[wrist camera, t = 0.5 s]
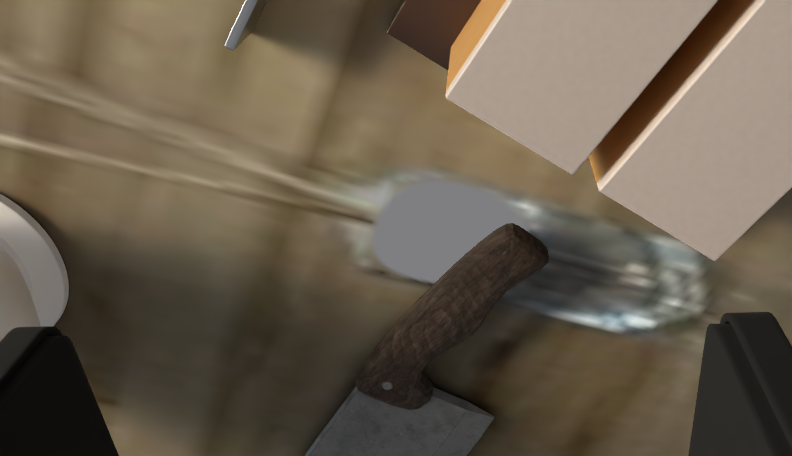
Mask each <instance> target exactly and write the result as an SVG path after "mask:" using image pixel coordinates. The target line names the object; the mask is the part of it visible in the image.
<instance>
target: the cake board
mask: <svg viewBox="0 0 792 456" xmlns="http://www.w3.org/2000/svg"><path fill="white" fill-rule="evenodd" d="M480 2H481V0H404V1H403V3H402V5H401V6H400V8H399V10H398V12H397V13H396V15H395V17H394V18H393V20H392V22H391V23H390V25H389V27H388V30H387V33H388V34H390V35H392V36H393V37H395V38H396V39H398V40H400V41H401V42H403V43H405V44H406V45H408V46H409V47H411V48H413V49H414V50H416V51H418V52H419V53H421V54H422V55H424V56H426V57H427V58H429V59H431V60H432V61H434V62H435V63H437V64H439V65H440V66H442V67H444V68H445V69H447V70H448V69H449V60H450V51H451V46H452V45H453V43H454V42H455V40H456V39H457V37H458V36H459V34H460V32H461V31H462V29H463V28H464V26H465V25H466V23H467V22H468V20H469V19H470V17H471V16H472V14H473V12H474V11H475V9H476V8H477V6H478V5H479V3H480Z"/></svg>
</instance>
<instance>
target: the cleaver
mask: <svg viewBox="0 0 792 456" xmlns="http://www.w3.org/2000/svg"><path fill="white" fill-rule="evenodd" d="M548 262H549V254H548V249H547V247H546V246H545V245H544V244H543V243H542V242H541V241H540V240H538V239H537V238H536V237H534V236H533V235H532V234H530V233H529V232H527V231H526V230H524V229H523V228H521V227H520V226H518V225H515V224H513V223H511V224H506V225H504V226H502V227H500V228H498V229H497V230H495V231H494V232H493V233H491V234H490V235H488V236H487V237H486V238H484V239H483V240H482V241H481V242H479V243H478V244H477V245H476V246H475V247H473V248H472V249H471V250H470V251H469V252H468V253H466V254H465V255H464V256H463V257H462V258H461V259H460V260H459V261H458V262H456V263H455V264H454V265H453V266H452V267H451V268H450V269H449V270H448V271H447V272H446V273H445V274H444V275H443V276H442V277H441V278H440V279H439V280H438V281H437V282H436V283H435V284H434V285H433V286H432V287H431V288H430V289H429V290H428V291H427V292H426V293H425V294H424V295H423V296H422V297H421V298H420V299H419V300H418V301H417V302H416V303H415V304H414V305H413V306H412V307H411V308H410V309H409V310H408V311H407V312H406V313H405V314H404V315H403V316H402V318H401V319H400V320H399V321H398V322H397V323H396V324H395V325H394V326H393V327H392V329H391V330H390V331H389V332H388V333H387V334H386V336H385V337H384V338H383V339H382V340H381V342H380V343H379V344H378V345H377V347H376V348H375V349H374V350H373V352H372V353H371V354H370V356H369V357H368V358H367V360H366V361H365V362H364V364H363V365H362V367H361V368H360V370H359V371H358V373H357V376H356V385H355V386H356V387H355V388H354V389H353V391H352V392H351V393H350V395H349V396H348V397H347V399H346V400H345V401H344V403H343V404H342V405H341V407H340V408H339V409H338V411H337V412H336V413H335V415H334V416H333V417H332V419H331V420H330V421H329V423H328V424H327V425H326V427H325V428H324V429H323V431H322V432H321V433H320V435H319V436H318V437H317V439H316V440H315V442H314V443H313V444H312V446H311V447H310V448H309V450H308V451H307V452H306V454H305V455H304V456H467V455H468V454H469V453H470V451H471V450H472V449H473V447H474V446H475V445H476V443H477V442H478V441H479V439H480V438H481V436H482V435H483V434H484V432H485V431H486V429H487V428H488V426H489V425H490V424H491V422H492V421H493V419H494V418H495V417H494V416H492V415H491V414H489V413H487V412H485V411H484V410H482V409H480V408H478V407H476V406H475V405H473V404H471V403H469V402H468V401H465V400H463V399H461V398H458V397H456V396H453V395H451V394H449V393H446V392H444V391H441V390H439V389H437V388H434V387H433V384H432V383H431V382H430V381H429V379H428V378H427V377H426V376H425V375H424V374H423V373H422V370H423V369H424V368H425V366H426V365H427V364H428V362H430V361H431V360H432V359H434V358H435V357H436V356H438V355H439V354H441V353H443V352H445V351H446V350H448V349H450V348H452V347H453V346H455V345H457V344H459V343H461V342H462V341H464V340H465V339H467V338H468V337H469V336H471V335H472V334H473V333H474V332H475V331H476V330H477V329H478V328H479V326H480V325H481V324H482V323H483V321H484V320H485V318H486V316H487V315H488V313H489V312H490V310H491V309H492V307H493V306H494V304H495V303H496V302H497V301H498V299H499V298H500V297H501V296H502V295H503V294H504V293H505V292H506V291H508V290H509V289H511V288H512V287H514V286H515V285H517V284H518V283H519V282H521V281H522V280H524V279H526V278H527V277H529V276H531V275H532V274H534V273H535V272H537V271H539V270H540V269H541V268H543V267H544V266H545V265H546V264H547V263H548Z"/></svg>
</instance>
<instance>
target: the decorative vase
mask: <svg viewBox="0 0 792 456" xmlns="http://www.w3.org/2000/svg"><path fill="white" fill-rule="evenodd" d="M68 294H69V282H68V276H67V271H66V268H65V265H64V262H63V259H62V257H61V255H60V253H59V251H58V249H57V247H56V246H55V244H54V242H53V241H52V239H51V238H50V237H49V235H48V234H47V233H46V231H45V230H44V229H43V228H42V227H41V226H40V224H39V223H38V222H37V221H36V220H35V219H34V218H33V217H32V216H30V215H29V214H28V213H27V212H26V211H25V210H23V209H22V208H21V207H20V206H18V205H17V204H16V203H14V202H13V201H11V200H10V199H8V198H7V197H5V196H3V195H1V194H0V341H1V340H2V339H3V338H4V337H5V336H6V334H7V333H8V332H10V331H11V330H12V329H14V328H17V327H44V326H51V327H53V326H54V325H55V324H56V322H57V321H58V320H59V319H60V317H61V316H62V314H63V312H64V310H65V307H66V304H67V301H68Z"/></svg>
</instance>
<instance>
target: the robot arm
mask: <svg viewBox="0 0 792 456" xmlns="http://www.w3.org/2000/svg"><path fill="white" fill-rule="evenodd" d="M0 456H119V455H118V453H117V450H116V448H115V445H114V443H113V441H112V438H111V436H110V433H109V431H108V428H107V426H106V424H105V421H104V419H103V416H102V414H101V411H100V409H99V407H98V404H97V402H96V399H95V397H94V394H93V392H92V389H91V387H90V385H89V382H88V380H87V377H86V375H85V372H84V370H83V368H82V365H81V363H80V360H79V358H78V355H77V353H76V351H75V348H74V346H73V343H72V342H71V340H70V339H69V338H68V337H67V336H63V335H62V333H61V332H60V331H59V330H58V329H57V328H56V327H51V326H44V327H17V328H14V329H12V330H11V331H10V332H8V333H7V334H6V336H5V337H4V338H3V339H2V340H1V341H0ZM689 456H792V346H791V344H790V342H789V341H788V339H787V337H786V336H785V334H784V332H783V330H782V329H781V327H780V325H779V323H778V322H777V320H776V318H775V317H774V316H773V314H771V313H769V312H750V313H725V314H724V315H723V316H722V318H721V322H720V324H710V325H709V326H708V328H707V331H706V337H705V344H704V351H703V358H702V365H701V372H700V379H699V386H698V393H697V400H696V407H695V414H694V421H693V428H692V435H691V442H690V449H689Z"/></svg>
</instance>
